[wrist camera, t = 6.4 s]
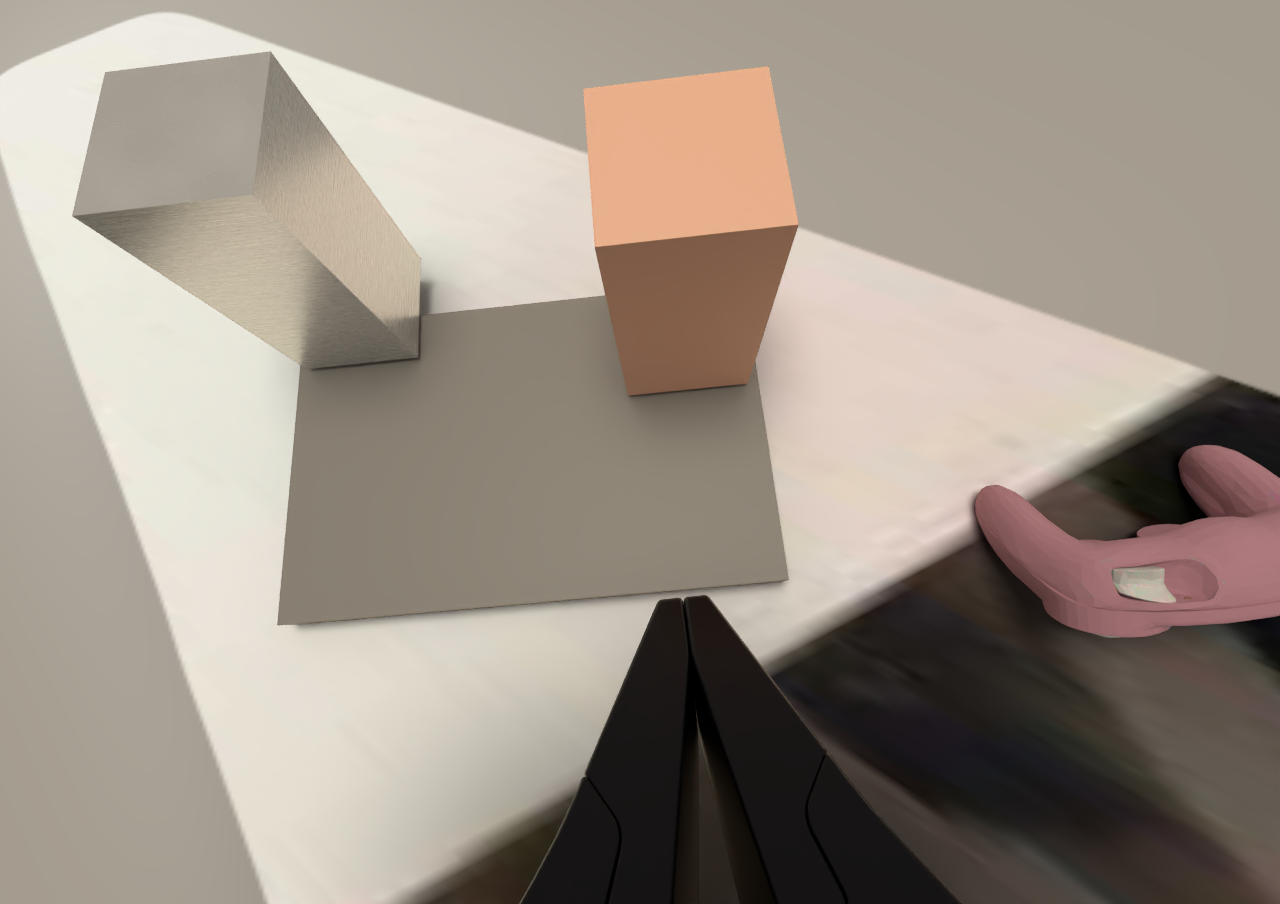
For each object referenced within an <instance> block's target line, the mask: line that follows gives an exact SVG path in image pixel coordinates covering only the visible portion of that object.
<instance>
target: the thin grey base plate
mask: <svg viewBox="0 0 1280 904" xmlns="http://www.w3.org/2000/svg"><path fill="white" fill-rule="evenodd" d="M786 580H789V579H788V572H787V566H786V559H785V553H784V546H783V540H782V533H781V527H780V520H779V514H778V507H777V501H776V494H775V488H774V481H773V474H772V468H771V461H770V455H769V448H768V442H767V435H766V429H765V422H764V416H763V409H762V403H761V396H760V390H759V383H758V377H757V370H756V364H755V362H754V365H753V369H752V372H751V375H750V378H749V381H748V384H738V385H728V386H718V387H708V388H698V389H688V390H679V391H669V392H659V393H649V394H639V395H629V396H628V394H627V390H626V385H625V381H624V376H623V372H622V367H621V363H620V358H619V354H618V349H617V345H616V340H615V336H614V331H613V327H612V322H611V318H610V313H609V309H608V304H607V300H606V296H597V297H588V298H579V299H569V300H560V301H551V302H541V303H532V304H523V305H514V306H504V307H495V308H486V309H477V310H467V311H458V312H449V313H439V314H430V315H421V316H419V342H418V357H417V358H407V359H398V360H388V361H379V362H369V363H360V364H350V365H341V366H331V367H322V368H312V369H306V368H304V367H303V366H301V367H300V378H299V389H298V400H297V411H296V422H295V434H294V445H293V456H292V467H291V478H290V489H289V501H288V512H287V523H286V534H285V545H284V556H283V568H282V579H281V590H280V601H279V612H278V624H277V625H295V624H307V623H319V622H330V621H341V620H352V619H364V618H375V617H386V616H398V615H409V614H420V613H431V612H443V611H454V610H465V609H476V608H488V607H499V606H510V605H521V604H533V603H544V602H555V601H567V600H578V599H589V598H600V597H612V596H623V595H634V594H645V593H657V592H668V591H679V590H691V589H702V588H713V587H724V586H736V585H747V584H758V583H769V582H781V581H786Z"/></svg>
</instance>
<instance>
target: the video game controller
mask: <svg viewBox="0 0 1280 904" xmlns="http://www.w3.org/2000/svg"><path fill="white" fill-rule="evenodd" d="M1178 467H1179V472H1180V477H1181V481H1182V483H1183V485H1184V487H1185V488H1186V490H1187V492H1188V493H1189V495H1190V496H1191V497H1192V499H1193V500H1194V501H1195V503H1196V504H1197V505H1198V507H1199V508H1200V509H1201V510H1202V511H1203V512H1204V513H1205V514H1206V515H1207V516H1208V517H1209V518H1203V519H1198V520H1194V521H1191V522H1188V523H1185V524H1182V525H1176V524H1162V525H1152V526H1148V527H1144V528H1142V529H1140V530H1138V532H1137V538H1130V539H1121V540H1113V541H1102V540H1077V539H1075V538H1074V537H1072V536H1070V535H1068V534H1067V533H1065V532H1064V531H1063V530H1061V529H1060V528H1058V527H1057V526H1056V525H1054V524H1053V523H1052V522H1050V521H1049V520H1048V519H1046V518H1045V517H1044V516H1043V515H1042V514H1041V513H1040V512H1039V511H1037V510H1036V509H1035V508H1034V507H1033V506H1032V505H1031V504H1030V503H1028V502H1027V501H1026V500H1025V499H1024V498H1022V497H1021V496H1020V495H1018V494H1017V493H1015V492H1013V491H1011V490H1009V489H1007V488H1005V487H1002V486H999V485H991V486H986V487H984V488H983V489H982V490H981V491H980V492H979V493H978V495H977V499H976V502H975V510H976V515H977V518H978V521H979V524H980V526H981V528H982V530H983V532H984V534H985V536H986V538H987V540H988V542H989V543H990V545H991V546H992V548H993V550H994V551H995V553H996V554H997V555H998V556H999V558H1000V559H1001V560H1002V561H1003V562H1004V563H1005V565H1006V566H1007V567H1008V568H1009V569H1010V570H1011V572H1012V573H1013V574H1014V575H1015V576H1017V577H1018V578H1019V579H1020V580H1021V581H1022V582H1023V583H1024V584H1025V585H1026V586H1027V587H1029V588H1030V589H1031V590H1032V591H1033V592H1034V593H1035V594H1036V595H1037V596H1038V597H1039V598H1041V599H1042V601H1043V605H1044V608H1045V611H1046V612H1047V613H1048V614H1049V615H1050V616H1051V617H1053V618H1054V619H1056V620H1057V621H1059V622H1060V623H1062V624H1064V625H1066V626H1068V627H1071V628H1075V629H1078V630H1081V631H1084V632H1088V633H1092V634H1096V635H1099V636H1102V637H1108V638H1115V637H1118V638H1119V637H1145V636H1151V635H1155V634H1158V633H1161V632H1163V631H1166V630H1168V629H1169V628H1170V627H1171V626H1190V625H1206V624H1222V623H1233V622H1240V621H1247V620H1254V619H1261V618H1268V617H1274V616H1279V615H1280V478H1278V477H1277V476H1275V475H1274V474H1273V473H1271V472H1270V471H1268V470H1267V469H1265V468H1264V467H1262V466H1261V465H1260V464H1258V463H1256V462H1254V461H1253V460H1251V459H1249V458H1247V457H1246V456H1244V455H1242V454H1241V453H1239V452H1237V451H1234V450H1231V449H1227V448H1224V447H1220V446H1213V445H1201V446H1196V447H1192V448H1190V449H1188V450H1187V451H1186V452H1185V453H1184V454H1183V455H1182V457H1181V459H1180V462H1179V464H1178Z"/></svg>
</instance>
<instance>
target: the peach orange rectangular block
mask: <svg viewBox="0 0 1280 904" xmlns="http://www.w3.org/2000/svg"><path fill="white" fill-rule="evenodd" d="M584 103H585V117H586V131H587V145H588V159H589V173H590V187H591V201H592V215H593V228H594V242H595V250H596V255H597V259H598V264H599V268H600V273H601V277H602V282H603V286H604V291H605V295H606V300H607V304H608V309H609V313H610V318H611V322H612V327H613V331H614V336H615V340H616V345H617V349H618V354H619V358H620V363H621V367H622V372H623V376H624V381H625V385H626V390H627V394H628V396H629V395H639V394H649V393H659V392H669V391H679V390H688V389H698V388H708V387H718V386H728V385H738V384H748V381H749V378H750V375H751V372H752V369H753V365H754V362H755V359H756V356H757V353H758V350H759V347H760V343H761V340H762V337H763V334H764V331H765V328H766V325H767V322H768V318H769V315H770V312H771V309H772V306H773V303H774V300H775V297H776V293H777V290H778V287H779V284H780V281H781V278H782V275H783V271H784V268H785V265H786V262H787V259H788V256H789V253H790V250H791V246H792V243H793V240H794V237H795V234H796V231H797V228H798V219H797V214H796V209H795V203H794V198H793V193H792V188H791V183H790V177H789V172H788V167H787V162H786V156H785V151H784V146H783V141H782V135H781V130H780V125H779V120H778V115H777V109H776V104H775V98H774V93H773V88H772V83H771V77H770V73H769V67H760V68H751V69H743V70H735V71H726V72H718V73H711V74H702V75H694V76H685V77H677V78H669V79H661V80H652V81H644V82H637V83H628V84H619V85H611V86H603V87H595V88H586V89H584Z"/></svg>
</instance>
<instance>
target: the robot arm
mask: <svg viewBox="0 0 1280 904" xmlns="http://www.w3.org/2000/svg"><path fill="white" fill-rule="evenodd" d="M695 706H696V707H695ZM696 714H697V716H696ZM697 721H698V727H697ZM698 728H699V734H700V739H701V744H702V748H703V753H704V757H705V761H706V765H707V769H708V773H709V777H710V781H711V786H712V790H713V794H714V798H715V802H716V806H717V810H718V814H719V819H720V823H721V827H722V831H723V835H724V839H725V843H726V847H727V852H728V856H729V860H730V864H731V868H732V872H733V876H734V880H735V885H736V889H737V893H738V897H739V901H740V904H961V903H960V902H959V901H958V900H957V899H956V898H955V897H954V896H953V895H952V894H951V893H950V891H949V890H948V889H947V888H946V887H945V886H944V885H943V884H942V883H941V882H940V881H939V880H938V879H937V878H936V877H935V876H934V875H933V873H932V872H931V871H930V870H929V869H928V868H927V867H926V866H925V865H924V864H923V863H922V862H921V861H920V860H919V859H918V858H917V857H916V855H915V854H914V853H913V852H912V851H911V850H910V849H909V848H908V847H907V846H906V845H905V844H904V843H903V842H902V840H901V839H900V838H899V837H898V836H897V835H896V834H895V833H894V832H893V830H892V829H891V828H890V827H889V826H888V825H887V824H886V823H885V822H884V820H883V819H882V818H881V817H880V816H879V815H878V814H877V813H876V812H875V810H874V809H873V808H872V807H871V806H870V804H869V803H868V802H867V801H866V799H865V798H864V797H863V796H862V795H861V793H860V792H859V791H858V790H857V788H856V787H855V786H854V785H853V783H852V782H851V781H850V780H849V779H848V777H847V776H846V775H845V773H844V772H843V771H842V770H841V768H840V767H839V766H838V764H837V763H836V762H835V760H834V759H833V758H832V756H831V755H829V754H827V755H826V753H827V751H826V749H825V748H824V746H823V745H822V744H821V743H820V741H819V740H818V739H817V737H816V736H815V735H814V733H813V732H812V731H811V729H810V728H809V727H808V726H807V724H806V723H805V722H804V720H803V719H802V718H801V716H800V715H799V714H798V712H797V711H796V710H795V709H794V707H793V706H792V705H791V703H790V702H789V701H788V699H787V698H786V697H785V695H784V694H783V693H782V692H781V690H780V689H779V688H778V686H777V685H776V684H775V682H774V681H773V680H772V679H771V677H770V676H769V675H768V673H767V672H766V671H765V669H764V668H763V667H762V665H761V664H760V663H759V662H758V660H757V659H756V658H755V656H754V655H753V654H752V652H751V651H750V650H749V648H748V647H747V646H746V645H745V643H744V642H743V641H742V639H741V638H740V637H739V635H738V634H737V633H736V632H735V630H734V629H733V628H732V626H731V625H730V624H729V622H728V621H727V620H726V618H725V617H724V616H723V615H722V613H721V612H720V611H719V609H718V608H717V607H716V605H715V604H714V603H713V601H712V600H711V599H710V598H709V597H708V596H706V595H701V596H692V597H686V598H685V599H684V604H683V600H682V599H681V598H672V599H663V600H660V601H658V603H657V604H656V607H655V609H654V611H653V614H652V616H651V618H650V621H649V623H648V625H647V628H646V630H645V632H644V635H643V637H642V640H641V642H640V644H639V647H638V649H637V651H636V654H635V656H634V658H633V661H632V663H631V665H630V668H629V670H628V672H627V675H626V677H625V679H624V682H623V684H622V686H621V689H620V691H619V693H618V696H617V698H616V700H615V703H614V705H613V707H612V710H611V712H610V714H609V717H608V719H607V721H606V724H605V726H604V728H603V731H602V733H601V736H600V738H599V740H598V743H597V745H596V747H595V750H594V752H593V754H592V757H591V759H590V761H589V764H588V766H587V768H586V771H585V777H583V778H582V779H581V782H580V784H579V786H578V789H577V791H576V793H575V796H574V798H573V800H572V803H571V805H570V807H569V809H568V811H567V814H566V816H565V818H564V820H563V822H562V824H561V826H560V829H559V831H558V833H557V835H556V837H555V839H554V841H553V843H552V845H551V847H550V849H549V851H548V852H547V854H546V856H545V858H544V860H543V862H542V864H541V866H540V867H539V869H538V871H537V873H536V875H535V877H534V879H533V880H532V882H531V884H530V886H529V888H528V889H527V891H526V893H525V895H524V896H523V898H522V900H521V902H520V903H519V904H699V747H698Z"/></svg>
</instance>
